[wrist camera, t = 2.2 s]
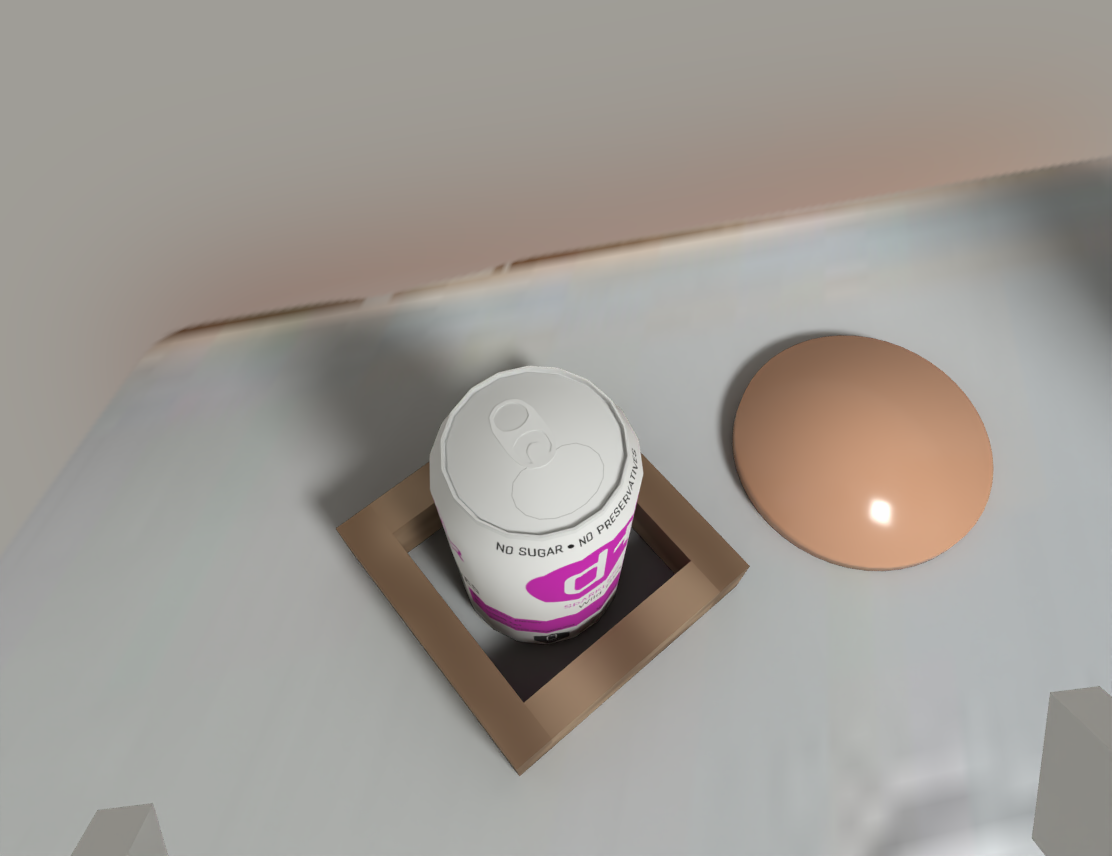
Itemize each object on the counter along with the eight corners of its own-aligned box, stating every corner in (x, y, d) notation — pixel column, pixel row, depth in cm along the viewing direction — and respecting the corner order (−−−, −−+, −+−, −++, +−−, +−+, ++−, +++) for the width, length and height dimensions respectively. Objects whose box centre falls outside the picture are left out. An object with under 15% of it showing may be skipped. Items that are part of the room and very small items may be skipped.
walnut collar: (559, 399, 49) (559, 368, 46) (735, 586, 44) (749, 566, 41) (351, 550, 45) (335, 528, 42) (519, 776, 40) (516, 770, 37)
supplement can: (651, 586, 44) (692, 472, 31) (519, 679, 42) (500, 599, 28) (562, 469, 47) (563, 318, 34) (434, 550, 45) (382, 423, 31)
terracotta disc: (846, 305, 52) (852, 295, 51) (1036, 465, 47) (1046, 457, 46) (680, 435, 48) (683, 427, 47) (869, 625, 43) (876, 620, 42)
